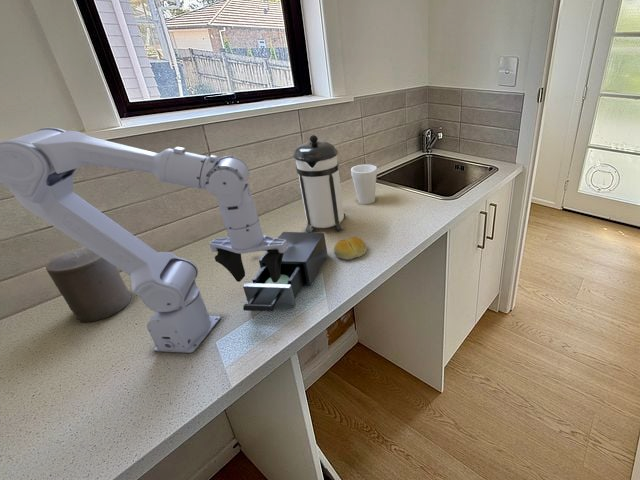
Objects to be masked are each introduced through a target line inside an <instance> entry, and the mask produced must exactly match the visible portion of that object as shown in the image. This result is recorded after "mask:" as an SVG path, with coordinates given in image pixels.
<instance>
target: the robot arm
mask: <svg viewBox="0 0 640 480" xmlns="http://www.w3.org/2000/svg"><path fill="white" fill-rule="evenodd" d="M186 150H187V149H186V148H185V147H181V146H176V147H174V148H165V149H164V150H162V151H160V152H154V151H150V150H146V149H142V148H139V147H135V146H130V145H126V144H122V143H118V142H113V141H110V140H105V139H101V138H98V137H93V136H89V135H87V134H84V133H83V132H80V131H78V130H65V129H62V128H58V127H52V126H51V127H50V126H49V127H42V128H40V129H38V130H35V131H34V132H31V133H28V134H25V135H21V136H18V137H15V138H12V139H9V140H1V141H0V184H1V185H3V186H4V187H5V188H7V189H8V190H9V192H10V193H11V194H12V195H13V196H14V198H15V199H16V200H17V201H18V203H19V204H20V205H21V206H22V207H23V208H25V209H26V210H27V211H30V212H31V213H32V214H33V215H35V216H37V217H38V218H39V219H40V220H43V221H45V222H46V223H47V224H49V225H51V226H52V227H54V228H55V229H56V230H58V231H60V232H62V234H65V235H66V236H68V237H69V238H71V240H74V241H75V242H77V243H78V244H80V245H82V247H86V248H88V249H89V250H91V251H93V252H94V253H96V254H97V255H99V256H100V257H102V258H103V259H105V260H106V261H108V262H110V263H111V264H113V265H114V266H116V268H117V269H119V270H120V271H122V272H124V273H125V274H126V275H128V276H129V278H130V284H131V291H132V294H134V295H136V296H137V297H139V298H140V299H141V300H142V303H143V304H144V306H145V307H147V308H148V309H149V310H152V311H154V313H153V315H152V317H151V318H150V320H149V322H148V323H147V325H146V328H147V331H148V333H149V335H150V337H151V340H152V341H153V343H154V345H155V347H154V348H153V351H154V352H163V353H187V354H192V353H194V352H195V351H196V350H197V348H198V347H199V346H200V345H201V343H202V342H203V341H204V340H205V338H206V337H207V336H208V335H209V334H210V332H211V331H212V330H213V329H214V327H216V325H217V324H218V323H219V321H220V320H221V318H222V317H221V315H209V312H208V309H207V307H206V305H205V302H204V299H203V296H202V294H201V291H200V289H199V287H198V284H197V283H196V278H197V277H198V275H199V269H198V267H197V265H196V264H195V263H194V262H193V261H192V260H189V259H188V258H183V257H180V256H178V255H176V254H175V253H173V252H172V251H156V250H155V249H154V248H152V247H151V246H149V245H148V244H147V243H145V242H144V241H143V240H141V239H140V238H138V237H137V236H135V235H134V234H133V233H131V232H130V231H128V230H127V229H126V228H124V227H123V226H121V225H120V224H119V223H117V222H116V221H114V220H113V219H112V218H111V217H109V216H107V215H106V214H104V213H103V212H102V211H101V210H99V209H98V208H96V207H95V206H94V205H92V204H91V203H89V202H88V201H87V200H85V199H84V198H82V197H81V196H80V195H78V194H76V193H75V192H74V175H75V173H76V172H77V170H78V169H79V168H83V167H86V166H89V165H90V166H100V167H106V168H114V169H119V170H120V169H122V170H128V171H136V172H143V173H149V174H150V173H151V174H153V175H154V176H155V177H156V178H157V179H158V180H159V181H160V182H161V183H167V184H173V185H177V186H178V185H179V186H184V187H190V188H195V189H201V190H207V191H208V192H209V193H210V194H211V195H212V196H214V197H215V198H216V201H217V206H218V208H219V211H220V214H221V218H222V221H223V224H224V227H225V230H226V233H227V236H228V237H220V238H218V237H217V238H214V239H213V240H211V241H210V242H209V244H208V245H209V247H210V250H211V252H212V253H217V254H216V255H215V256H214V261H215V262H217V263H218V264H220V265H221V266H223V267H224V268H225V269H226V270H227V271H228V272H229V273H230V275H231V276H232V277H233V278H234V279H235V281H236V282H239V283H240V282H241V281H242V280H243V279H244V278H245V277H246V271H245V267H244V264H243V260H242V254H248V253H249V254H250V253H255V252H266V251H267V253H266V255H265V256H264V257H263V258H262V261H263V262H264V263H265V265H266V266H267V268H268V270H269V273H270V276H271V279H272V281H273V282H275V283H276V282H277V281H278V280H279V278H280V277H281V275H280V272H281V262H282V258H283V254H284V252H285V251H286V250H287V248H288V246H287V241H286V240H284V239H277V238H278V237H277V238H276V237H272V236H269V235H265V234H264V233H263V230H262V226H261V223H260V219H259V216H258V211H257V208H256V203H255V200H254V197H253V195H252V191H251V188H250V184H249V183H248V181H249V179H250V178H249V177H250V169H249V166H248V165H247V164H246V162H245V161H243V160H242V159H240V158H239V157H234V156H233V155H225V156H221V157H220V158H219V156H218V155H215V154H211V155H210V156H207V155H203V154H198V153H194V152H189V151H186Z"/></svg>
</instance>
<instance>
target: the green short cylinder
mask: <svg viewBox="0 0 640 480" xmlns="http://www.w3.org/2000/svg"><path fill="white" fill-rule="evenodd" d="M288 280H289V277H288V276H286V275H281V277H280V278H279V280H278V281H277V282H276V283H275V282H273V281H272V279H271V278H269V279H268V280H267V281H266V282H265V284H288Z"/></svg>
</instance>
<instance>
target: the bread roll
mask: <svg viewBox="0 0 640 480" xmlns="http://www.w3.org/2000/svg"><path fill="white" fill-rule="evenodd" d="M365 242H366V241H364V239H363V238H361V237H357V236H352V237H350V238H349V239H341V240H339V241H338V242H336V243H335V245H334V248H333V253H334V255H335V256H336V257H337V258H339V259H342V260H353V259H355V258H360V257H362V256H363V255H365V254H366V253H367V251H368V249H367V247H366V243H365Z"/></svg>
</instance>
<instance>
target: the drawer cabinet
mask: <svg viewBox="0 0 640 480" xmlns="http://www.w3.org/2000/svg"><path fill="white" fill-rule="evenodd" d="M277 239H284V240H286V241H287V246H288V248H287V250H286V251H285V252H284V254H283V258H282V262H281V264H303V266H304V271H305V276H306V282H305V283H304V285H303V287H302V288H304V287H305V288H311V287H312V285H313V283H314V281H316V278H317V277H318V274H319V272H320V271H321V269H322V267H323V265H324V263H325V262H326V260H327V258H328V257H329V255H328V249H327V242H326V236H325V232H311V233H309V232H306V231H305V232H304V231H302V232H301V231H282V232H281V233H280V234H279V236H278V237H277ZM266 253H267V251H264V253H263V254H262V256H261V257H260V258H259V259H258V264H259V268H260V269H261V268H262V267H263V266H264V265H265V263H264V262H263V261H262V258H263V257H264V256H265V255H266Z"/></svg>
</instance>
